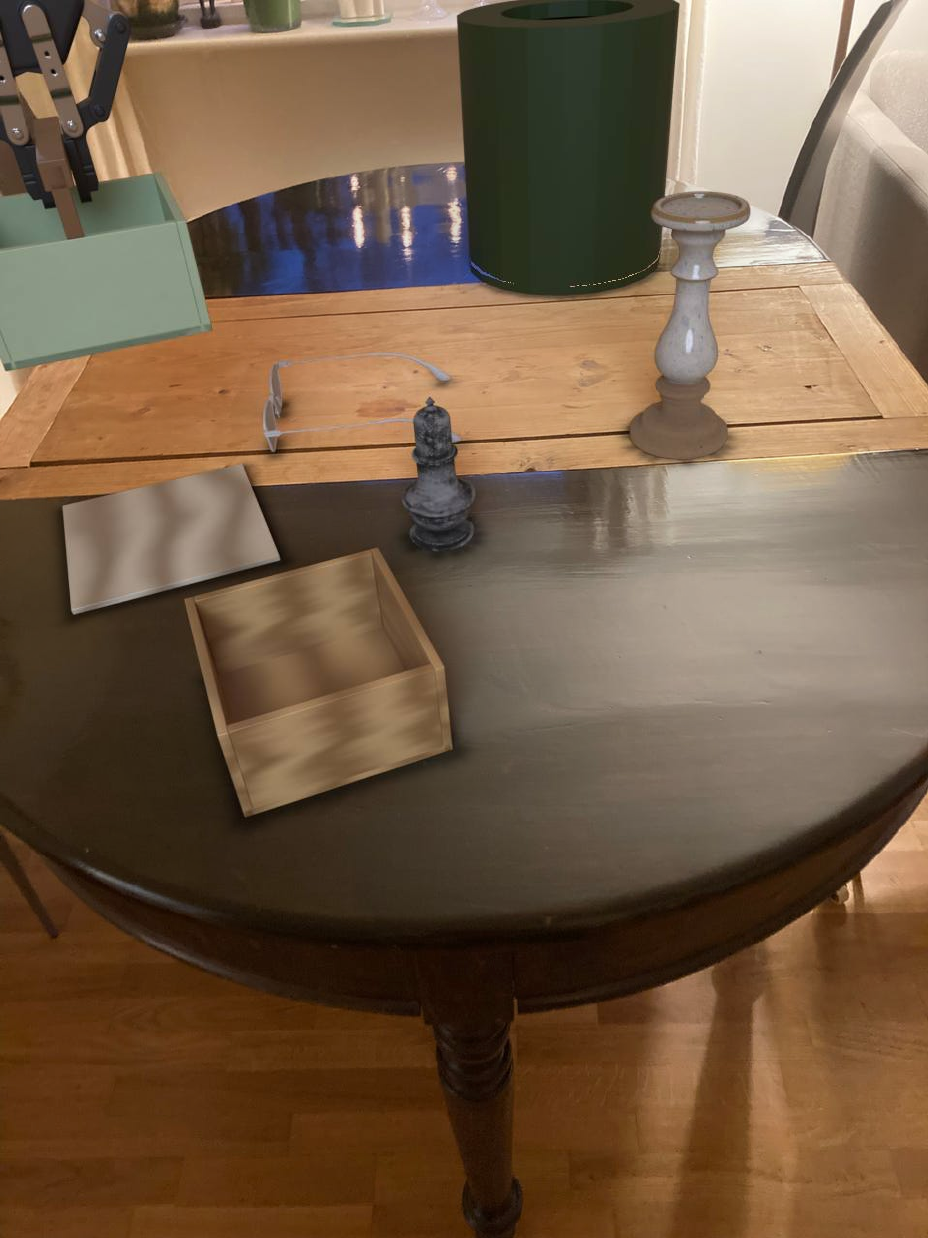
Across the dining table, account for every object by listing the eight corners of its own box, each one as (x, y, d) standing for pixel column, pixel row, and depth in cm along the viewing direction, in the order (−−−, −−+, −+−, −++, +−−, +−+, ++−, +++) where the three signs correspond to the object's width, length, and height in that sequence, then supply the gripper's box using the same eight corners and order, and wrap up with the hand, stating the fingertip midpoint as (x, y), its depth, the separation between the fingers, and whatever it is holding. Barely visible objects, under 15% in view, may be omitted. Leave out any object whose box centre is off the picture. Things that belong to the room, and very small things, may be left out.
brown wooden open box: (245, 818, 54) (217, 736, 49) (209, 678, 63) (183, 598, 59) (452, 749, 57) (444, 666, 52) (389, 626, 66) (378, 546, 62)
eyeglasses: (279, 392, 97) (272, 356, 94) (450, 376, 97) (447, 340, 95) (268, 466, 85) (260, 427, 82) (463, 447, 86) (460, 408, 83)
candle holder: (722, 465, 80) (755, 223, 68) (621, 455, 83) (635, 219, 70) (730, 418, 87) (762, 189, 74) (637, 410, 89) (652, 186, 76)
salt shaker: (394, 547, 74) (376, 410, 66) (422, 507, 78) (408, 375, 70) (463, 558, 72) (453, 420, 64) (487, 518, 76) (480, 383, 69)
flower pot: (537, 311, 109) (535, 35, 92) (435, 255, 127) (417, 14, 109) (700, 264, 118) (728, 4, 100) (585, 217, 136) (591, -12, 118)
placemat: (73, 615, 70) (71, 610, 69) (64, 510, 81) (62, 505, 81) (280, 560, 73) (279, 555, 73) (243, 467, 85) (242, 463, 85)
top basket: (5, 371, 58) (-73, 177, 50) (7, 302, 67) (-59, 131, 60) (212, 331, 61) (167, 142, 53) (186, 270, 70) (144, 103, 63)
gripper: (-200, -141, 44) (-48, 237, 55) (97, -161, 47) (184, 199, 58) (-176, -138, 49) (-42, 205, 60) (88, -156, 52) (169, 172, 63)
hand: (68, 201), depth 59 cm, fingers closed on top basket
